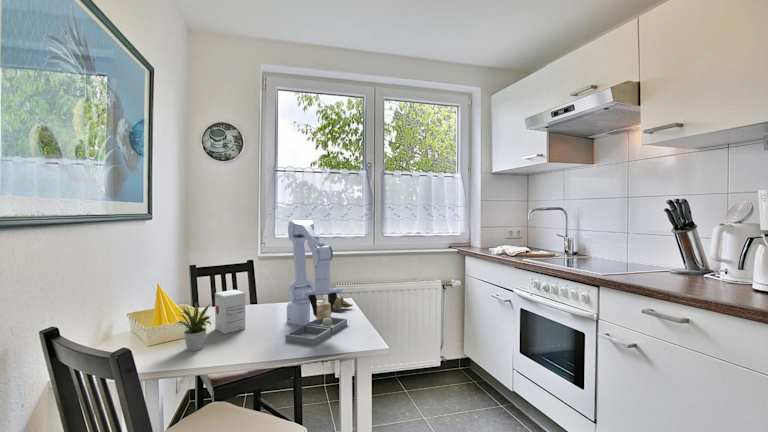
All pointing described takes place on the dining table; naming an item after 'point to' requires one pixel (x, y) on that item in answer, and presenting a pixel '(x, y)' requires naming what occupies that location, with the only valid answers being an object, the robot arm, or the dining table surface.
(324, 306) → the letter cube
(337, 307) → the ceramic sculpture
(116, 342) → the dining table surface
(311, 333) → the tray near
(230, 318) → the supplement box
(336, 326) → the tray far
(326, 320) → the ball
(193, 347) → the house plant
